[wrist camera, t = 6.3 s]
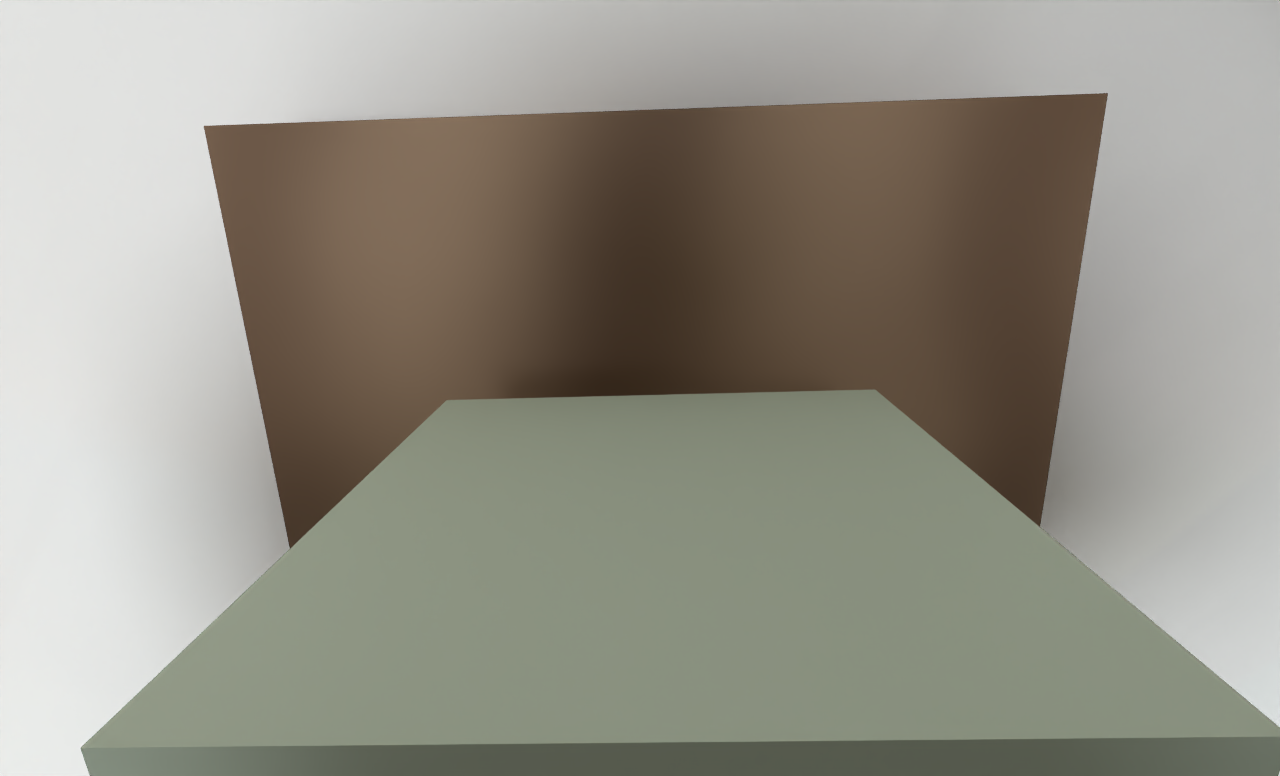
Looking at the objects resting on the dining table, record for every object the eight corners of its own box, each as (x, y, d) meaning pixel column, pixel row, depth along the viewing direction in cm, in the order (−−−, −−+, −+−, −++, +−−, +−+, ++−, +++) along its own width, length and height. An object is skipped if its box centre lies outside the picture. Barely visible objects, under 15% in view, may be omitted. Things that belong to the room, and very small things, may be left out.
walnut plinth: (1017, 115, 12) (1107, 92, 10) (943, 719, 16) (995, 810, 14) (290, 141, 12) (204, 125, 10) (389, 725, 16) (344, 816, 14)
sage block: (874, 389, 9) (1290, 736, 3) (849, 738, 11) (1088, 1388, 5) (446, 400, 9) (80, 749, 3) (488, 742, 11) (294, 1373, 5)
